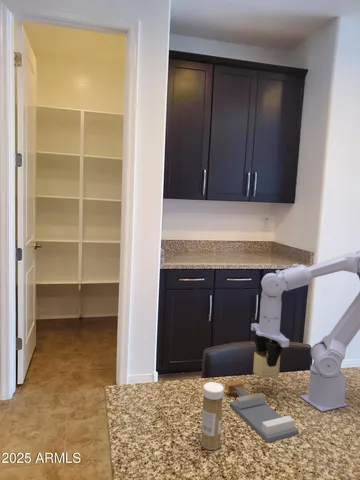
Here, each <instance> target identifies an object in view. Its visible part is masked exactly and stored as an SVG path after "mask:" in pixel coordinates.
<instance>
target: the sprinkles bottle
mask: <svg viewBox="0 0 360 480" xmlns="http://www.w3.org/2000/svg"><path fill="white" fill-rule="evenodd" d="M202 387H203V388H202V396H203V398H202V399H203V400H202V413H201V438H200V445H201V446H202V447H203V448H204V449H206V450H209V451H216V450H218V449H219V448H220V447H221V445H222V441H221V440H222V439H221V438H222V435H221V434H222V425H223V424H222V423H223V422H222V421H223V417H222V416H223V398H224V395H225V394H224V393H225V386H223V384H221V383H218V382H215V381H213V382H211V381H210V382H209V381H208V382H205V384H203V386H202Z"/></svg>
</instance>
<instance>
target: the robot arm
mask: <svg viewBox="0 0 360 480" xmlns="http://www.w3.org/2000/svg"><path fill="white" fill-rule="evenodd" d="M342 271H343V272H348V273H352V274H356V275H357V277H358V279H359V281H360V250H358V251H355V252H354V251H353V252H348V253H344V254H342V255H339V256H336V257H332V258H331V259H327V260H324V261H322V262H319V263H316V264H312V265H310V266H306V265H304V264H298V263H294V264H292V267H288V268H285V269H283V270H280V269H277V270H275V273H274V272H270V273H269V272H268V273H266V274H265V275H264V276H263V277H262V279H261V281H260V284H261V285H260V286H261V290H262V291H261V298H260V304H259V305H260V307H259V319H258V321H259V322H258V323H256V322H254V323H251V324H250V330H251V331H252V332H255V334H252V335H251V338H252V340H253V342H254V344H255V347H256V352H259V351H266V350H267V351H268V365H269V367H273V366H276V364H277V361H278V358H279V356H280V357H281V354H282V352H283V350H284V349H285V348H289V346H290V339H289V338H287V337H286V336H285V335H284V334H283V333H282V332H281V331H280V330H281V315H282V294H283V293H284V291H285V292H288V291H291V290H294V289H298V288H300V287H304V286H307V285H309V284H311V281H312V280H313V279H315V278H318V277H322V276H326V275H330V274H334V273H337V272H342ZM359 331H360V291H359V292H358V293H357V295H356V296H355V298H354V299H353V301H352V302H351V303H350V305H349V306H348V307H347V309H346V311H345V312H344V313H343V314H342V316H341V317H340V318H339V320H338V321H337V323H336V324H335V326H334V327H333V329H332V330H331V331H330V333H329V334H328V335H325V336H323V338H322V339H321V340H320V341H319V342H317V343H315V344H313V345H312V347H311V349H310V356H311V358H312V360H313V362H312V364H311V365H310V369H309V381H308V393H307V394H302V395H300V397H301V399H302V400H304V401H306V403H308V404H310V405H311V406H312V407H314V408H315V409H317V410H318V411H319V412H327V411H331V410H334V409H339V408H343V407H346V406H348V403H347V402H345V401H346V389H347V380H346V377H345V376H346V375H345V374H344V373H343V372H342V370H341V368H342V363H343V361H344V360H345V357H346V351H347V347H348V346H349V345H350V344H351V342H352V340H353V339H354V338H355V337H356V335H357V333H358V332H359Z"/></svg>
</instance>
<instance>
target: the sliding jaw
mask: <svg viewBox="0 0 360 480" xmlns="http://www.w3.org/2000/svg"><path fill="white" fill-rule="evenodd" d="M224 384H225V385H224V391H226V392H227V393H228V394H231V393H236V395H238V397H236V398H235V401H236V406H237V407H239V408H240V409H242V408H247V407H251V406H256V405H260V404H265V403H266V401H267V399H266V398H267V396H266V395H265V394H264V393H263V392H258V393H253V394H252V393H251V394H250V393H249V392H248V391H246V390H245V382H243V381H242V380H240V379H238V380H234V381H228V382H225V383H224Z"/></svg>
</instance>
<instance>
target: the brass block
mask: <svg viewBox="0 0 360 480" xmlns="http://www.w3.org/2000/svg"><path fill="white" fill-rule="evenodd" d="M253 354H254V355H253V368H252V369H253V370H252V373H253V374H254V375H256V376H257V377H259V378H260V379H267V378H273V377H278V376H280V365H281V364H280V363H281V355H280V356H279V358H278V361H277V364H276V366H273V367H269V365H268V351H267V350H266V351H259V352H257V351H254V353H253Z"/></svg>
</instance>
